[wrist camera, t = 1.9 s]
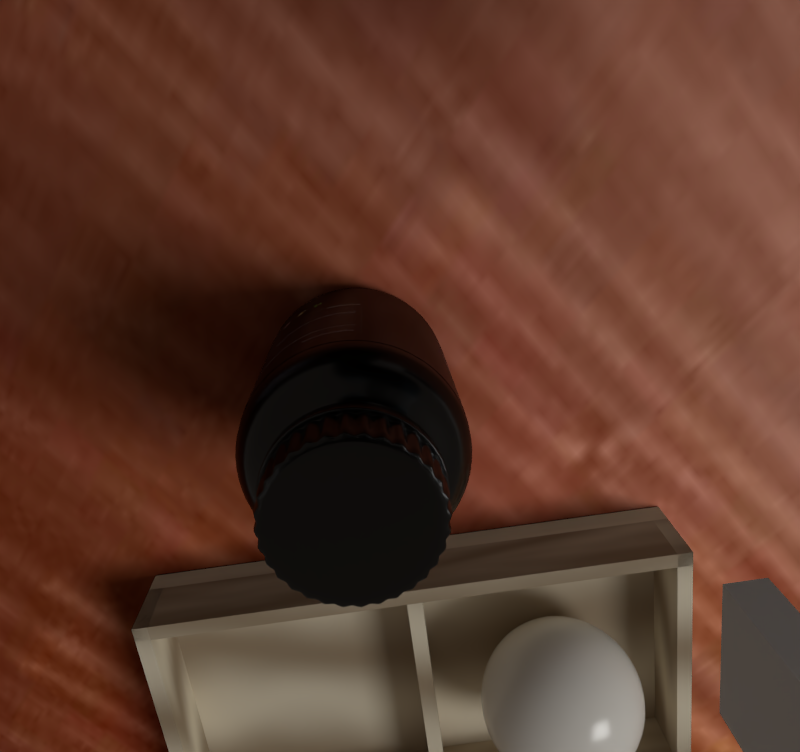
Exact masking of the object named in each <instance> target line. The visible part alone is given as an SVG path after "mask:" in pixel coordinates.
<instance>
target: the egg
mask: <svg viewBox="0 0 800 752" xmlns="http://www.w3.org/2000/svg"><path fill="white" fill-rule="evenodd" d="M481 703H482V711H483V716H484V720H485V724H486V727H487V730H488V732H489V735H490V737H491V739H492V741H493V743H494V745H495V746H496V748H497V750H498V751H499V752H636V750H637V748H638V745H639V743H640V740H641V737H642V734H643V729H644V723H645V700H644V693H643V689H642V685H641V682H640V679H639V676H638V674H637V671H636V669H635V667H634V665H633V663H632V662H631V660H630V659H629V657H628V656H627V654H626V653H625V651H624V650H623V649H622V648H621V647H620V645H619V644H618V643H617V642H616V641H615V640H614V639H613V638H611V637H610V636H609V635H608V634H606V633H605V632H604V631H602V630H601V629H599V628H597V627H596V626H594V625H592V624H590V623H587V622H585V621H583V620H579V619H575V618H571V617H565V616H546V617H541V618H537V619H533V620H530V621H528V622H526V623H523V624H521V625H520V626H518V627H516V628H515V629H513V630H512V631H511V632H510V633H508V634H507V635H506V636H505V637H504V638H503V639H502V640H501V642H500V643H499V644H498V645H497V646H496V648H495V650H494V651H493V653H492V655H491V657H490V659H489V661H488V663H487V665H486V669H485V672H484V676H483V681H482V690H481Z"/></svg>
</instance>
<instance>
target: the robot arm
mask: <svg viewBox="0 0 800 752" xmlns="http://www.w3.org/2000/svg"><path fill="white" fill-rule="evenodd" d="M720 714H721V716H722V717H723V719H724V721H725V722H726V724H727V726H728V727H729V729H730V731H731V732H732V734H733V735H734V737H735V739H736V740H737V742H738V744H739V745H740V747H741V749H742V750H743V752H800V613H799V612H798V611H797V610H796V608H795V607H794V606H793V605H792V604H791V603H790V602H789V601H788V600H787V598H786V597H785V596H784V595H783V594H782V593H781V592H780V591H779V590H778V588H777V587H776V586H775V585H774V584H773V583H772V582H771V581H770V580H769V578H764V579H757V580H750V581H743V582H735V583H728V584H723V599H722V640H721V681H720Z"/></svg>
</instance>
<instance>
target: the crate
mask: <svg viewBox="0 0 800 752" xmlns="http://www.w3.org/2000/svg"><path fill="white" fill-rule="evenodd" d="M692 602H693V551H692V550H691V549H690V548H689V546H688V545H687V544H686V542H685V541H684V540H683V538H682V537H681V536H680V534H679V533H678V532H677V531H676V529H675V528H674V527H673V525H672V524H671V523H670V521H669V520H668V519H667V517H666V516H665V515H664V514H663V512H662V511H661V510H660V508H659V507H652V508H644V509H637V510H630V511H622V512H615V513H608V514H601V515H593V516H586V517H579V518H572V519H564V520H557V521H550V522H543V523H535V524H528V525H521V526H513V527H506V528H499V529H492V530H484V531H477V532H470V533H463V534H455V535H449V536H448V538H447V539H446V549H445V551H444V552H443V553H442V554H441V555H440V556H439V562H438V564H437V565H436V566H435V567H434V568H432V569H431V570H430V572H429V574H428V576H427V578H425V579H424V580H422V581H420V582H418V583H417V585H416V586H415V587H414V588H413V589H412V590H409V591H405V592H403V593H402V594H401V595H400V596H399V597H398V598H395V599H387V600H386V601H384V602H383V603H381V604H369V605H366V606H364V607H357V606H348V607H340V606H338V605H336V604H323V603H321V602H320V601H319V600H317V599H309V598H306V597H305V596H304V595H303V594H302V593H301V592H298V591H295V590H292V589H291V588H290V587H289V586H288V584H287V583H286V582H285V581H282V580H280V579H279V578H277V576H276V574H275V571H274V570H273V569H272V568H270V567H269V566H268V565H267V564H266V562H265V561H259V562H252V563H245V564H237V565H230V566H223V567H216V568H208V569H201V570H194V571H187V572H179V573H172V574H165V575H158V576H155V578H154V581H153V583H152V585H151V587H150V590H149V592H148V594H147V596H146V598H145V601H144V603H143V605H142V607H141V610H140V612H139V614H138V616H137V618H136V621H135V623H134V625H133V627H132V629H131V630H132V633H133V637H134V640H135V643H136V646H137V650H138V653H139V656H140V659H141V663H142V666H143V669H144V672H145V676H146V679H147V682H148V685H149V689H150V692H151V695H152V698H153V702H154V705H155V708H156V712H157V715H158V718H159V721H160V725H161V728H162V731H163V734H164V738H165V741H166V744H167V747H168V751H169V752H499V751H498V750H497V748H496V746H495V745H494V743H493V741H492V739H491V737H490V735H489V732H488V730H487V727H486V724H485V720H484V716H483V711H482V703H481V690H482V681H483V676H484V672H485V669H486V665H487V663H488V661H489V659H490V657H491V655H492V653H493V651H494V650H495V648H496V646H497V645H498V644H499V643H500V642H501V640H502V639H503V638H504V637H505V636H506V635H507V634H508V633H510V632H511V631H512V630H513V629H515V628H516V627H518V626H520V625H521V624H523V623H526V622H528V621H530V620H533V619H537V618H541V617H546V616H565V617H571V618H575V619H579V620H583V621H585V622H587V623H590V624H592V625H594V626H596V627H597V628H599V629H601V630H602V631H604V632H605V633H606V634H608V635H609V636H610V637H611V638H613V639H614V640H615V641H616V642H617V643H618V644H619V645H620V647H621V648H622V649H623V650H624V651H625V653H626V654H627V656H628V657H629V659H630V660H631V662H632V663H633V665H634V667H635V669H636V671H637V674H638V676H639V679H640V682H641V685H642V689H643V693H644V700H645V723H644V729H643V734H642V737H641V740H640V743H639V745H638V748H637V750H636V752H691V689H692Z"/></svg>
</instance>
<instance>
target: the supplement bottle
mask: <svg viewBox="0 0 800 752" xmlns="http://www.w3.org/2000/svg"><path fill="white" fill-rule="evenodd" d="M471 464H472V443H471V435H470V430H469V425H468V421H467V418H466V415H465V412H464V409H463V406H462V403H461V400H460V398H459V395H458V392H457V390H456V387H455V384H454V381H453V379H452V376H451V373H450V370H449V368H448V365H447V362H446V360H445V357H444V354H443V351H442V349H441V347H440V344H439V342H438V340H437V338H436V336H435V334H434V332H433V330H432V329H431V327H430V326H429V325H428V323H427V322H426V321H425V319H424V318H423V317H422V316H421V315H420V314H419V313H418V312H417V311H416V310H415V309H414V308H412V307H411V306H410V305H408V304H407V303H405V302H404V301H402V300H401V299H399V298H397V297H395V296H393V295H390V294H387V293H385V292H381V291H377V290H373V289H366V288H347V289H339V290H335V291H331V292H328V293H325V294H322V295H320V296H318V297H315V298H314V299H312V300H310V301H308V302H307V303H305V304H304V305H303V306H301V307H300V308H299V309H298V310H296V311H295V312H294V313H293V314H292V315H291V316H290V317H289V319H288V320H287V321H286V322H285V324H284V325H283V326H282V328H281V329H280V331H279V333H278V334H277V336H276V338H275V340H274V342H273V344H272V346H271V349H270V351H269V353H268V356H267V358H266V360H265V363H264V365H263V367H262V370H261V372H260V374H259V377H258V379H257V381H256V384H255V386H254V388H253V391H252V393H251V395H250V398H249V400H248V402H247V405H246V407H245V410H244V412H243V415H242V418H241V422H240V425H239V430H238V434H237V440H236V468H237V473H238V478H239V482H240V485H241V488H242V491H243V493H244V496H245V498H246V500H247V502H248V504H249V505H250V507H251V509H252V511H253V514H254V518H255V525H254V533H255V535H256V536H257V538H258V549H259V550H260V552H261V553H263V554H264V556H265V562H266V564H267V565H268V566H269V567H270V568H272V569H273V570H274V571H275V574H276V576H277V578H279V579H280V580H282V581H285V582H286V583H287V584H288V586H289V587H290V588H291V589H292V590H295V591H298V592H301V593H302V594H303V595H304V596H305V597H306V598H309V599H317V600H319V601H320V602H321V603H323V604H336V605H338V606H340V607H348V606H357V607H364V606H366V605H369V604H381V603H383V602H384V601H386V600H387V599H395V598H398V597H399V596H400V595H401V594H402V593H403V592H405V591H409V590H412V589H413V588H414V587H415V586H416V585H417V583H418V582H420V581H422V580H424V579H425V578H427V576H428V574H429V572H430V570H431V569H432V568H434V567H435V566H436V565H437V564H438V562H439V556H440V555H441V554H442V553H443V552H444V551H445V549H446V539H447V538H448V536H449V534H450V533H451V526H450V519H451V516H452V514H453V512H454V511H455V509H456V508H457V506H458V504H459V503H460V501H461V498H462V496H463V494H464V492H465V489H466V486H467V483H468V480H469V475H470V471H471Z"/></svg>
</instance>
